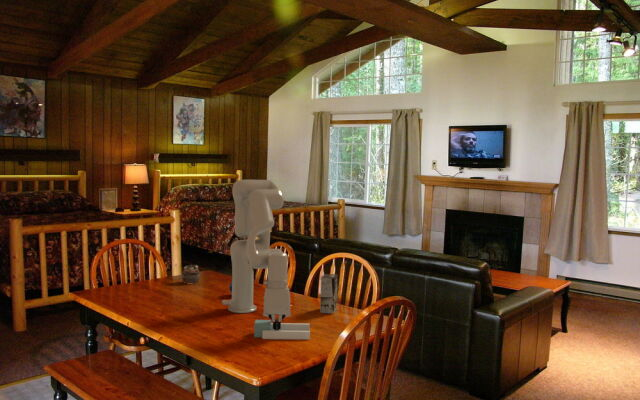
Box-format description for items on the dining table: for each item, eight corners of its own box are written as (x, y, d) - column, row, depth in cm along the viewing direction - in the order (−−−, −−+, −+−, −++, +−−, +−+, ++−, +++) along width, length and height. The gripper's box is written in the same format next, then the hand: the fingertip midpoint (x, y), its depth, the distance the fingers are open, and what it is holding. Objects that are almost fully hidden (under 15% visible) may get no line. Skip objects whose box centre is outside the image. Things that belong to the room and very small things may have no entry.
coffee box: (333, 314, 241) (334, 278, 240) (319, 312, 242) (320, 277, 241) (337, 308, 250) (338, 274, 249) (323, 307, 251) (324, 273, 250)
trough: (262, 338, 205) (262, 331, 205) (264, 330, 215) (264, 323, 215) (309, 339, 206) (310, 331, 205) (309, 330, 216) (309, 323, 216)
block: (254, 337, 207) (254, 324, 206) (255, 332, 213) (255, 319, 212) (269, 337, 207) (270, 324, 207) (270, 332, 213) (271, 319, 213)
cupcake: (202, 281, 299) (202, 263, 298) (194, 285, 290) (194, 266, 289) (186, 280, 301) (186, 262, 301) (178, 284, 292) (178, 265, 291)
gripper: (257, 286, 205) (256, 333, 206) (296, 286, 205) (295, 334, 207) (258, 282, 212) (258, 327, 214) (296, 282, 213) (296, 328, 214)
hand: (276, 330), depth 210 cm, fingers closed
